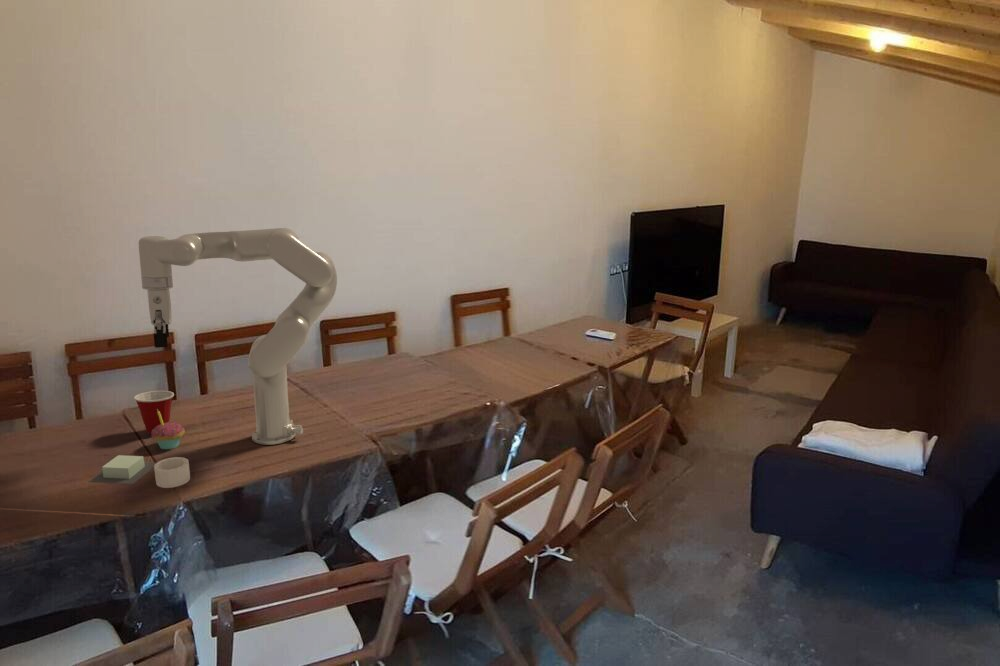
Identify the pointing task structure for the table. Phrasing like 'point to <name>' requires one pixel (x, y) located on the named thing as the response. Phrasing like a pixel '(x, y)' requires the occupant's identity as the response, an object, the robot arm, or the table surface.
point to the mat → (124, 481)
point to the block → (123, 467)
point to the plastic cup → (154, 407)
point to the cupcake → (167, 434)
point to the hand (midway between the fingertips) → (162, 342)
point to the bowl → (172, 472)
